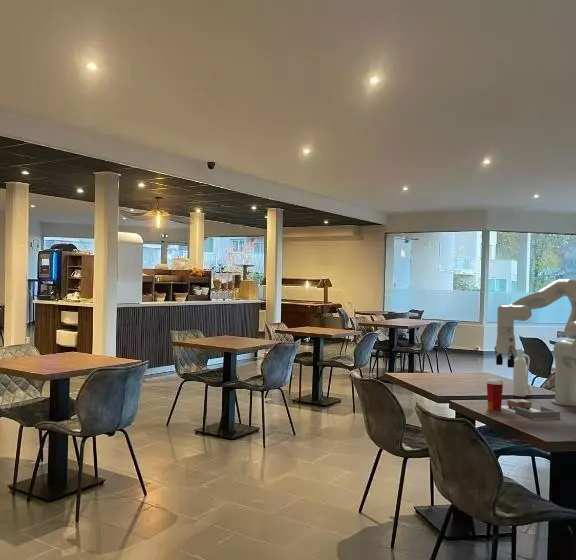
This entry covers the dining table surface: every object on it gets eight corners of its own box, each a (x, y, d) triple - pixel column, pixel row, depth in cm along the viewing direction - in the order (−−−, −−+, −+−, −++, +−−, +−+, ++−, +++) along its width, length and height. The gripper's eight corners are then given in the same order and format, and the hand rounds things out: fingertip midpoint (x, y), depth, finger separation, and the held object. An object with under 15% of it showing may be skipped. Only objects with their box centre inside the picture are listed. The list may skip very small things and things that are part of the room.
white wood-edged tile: (522, 407, 279) (522, 399, 279) (531, 410, 272) (531, 401, 272) (507, 407, 277) (507, 399, 277) (516, 410, 270) (516, 402, 270)
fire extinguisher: (535, 396, 309) (533, 349, 310) (510, 396, 311) (509, 349, 312) (532, 394, 315) (530, 348, 317) (508, 394, 318) (507, 348, 319)
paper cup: (505, 410, 273) (505, 380, 273) (500, 413, 266) (501, 382, 267) (488, 408, 277) (488, 378, 277) (483, 410, 271) (483, 380, 271)
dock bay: (523, 406, 283) (523, 400, 283) (559, 418, 257) (559, 411, 257) (496, 406, 280) (497, 400, 280) (531, 419, 254) (531, 412, 254)
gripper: (522, 332, 277) (522, 368, 277) (502, 329, 294) (501, 363, 294) (508, 332, 275) (508, 368, 275) (488, 329, 292) (488, 363, 292)
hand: (505, 366), depth 284 cm, fingers open, 9 cm apart
